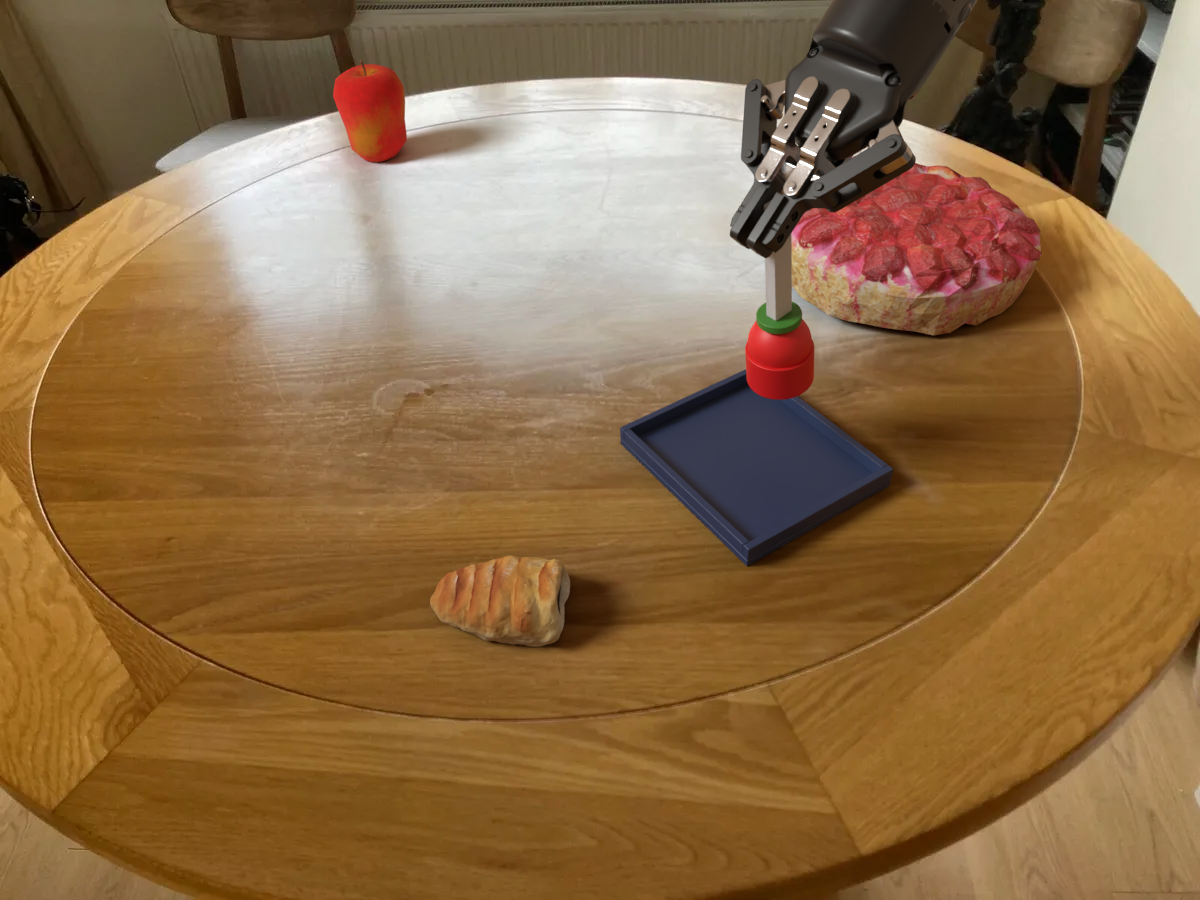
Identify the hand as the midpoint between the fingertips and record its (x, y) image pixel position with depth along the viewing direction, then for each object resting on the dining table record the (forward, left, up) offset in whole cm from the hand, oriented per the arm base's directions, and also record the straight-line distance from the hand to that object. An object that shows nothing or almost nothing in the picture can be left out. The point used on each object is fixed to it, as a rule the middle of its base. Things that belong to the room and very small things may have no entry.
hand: (748, 246), depth 62 cm
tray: (0, -2, -20) cm, 21 cm away
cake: (+14, -32, -21) cm, 41 cm away
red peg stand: (0, -5, -13) cm, 14 cm away
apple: (+71, -1, -21) cm, 74 cm away
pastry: (-2, +21, -21) cm, 30 cm away
